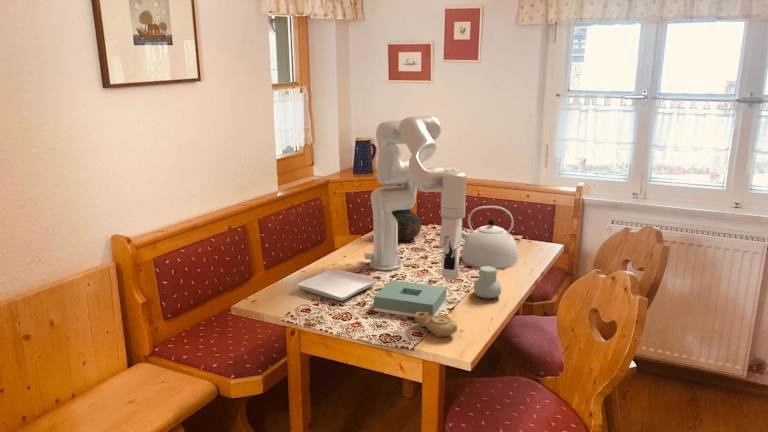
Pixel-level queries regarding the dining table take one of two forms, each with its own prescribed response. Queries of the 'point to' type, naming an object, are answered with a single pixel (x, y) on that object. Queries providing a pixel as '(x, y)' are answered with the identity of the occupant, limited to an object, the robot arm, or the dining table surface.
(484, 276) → the air freshener
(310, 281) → the salad plate
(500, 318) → the dining table surface
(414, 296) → the well block
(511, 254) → the kettle
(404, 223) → the dark vase
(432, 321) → the oil lamp
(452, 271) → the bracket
